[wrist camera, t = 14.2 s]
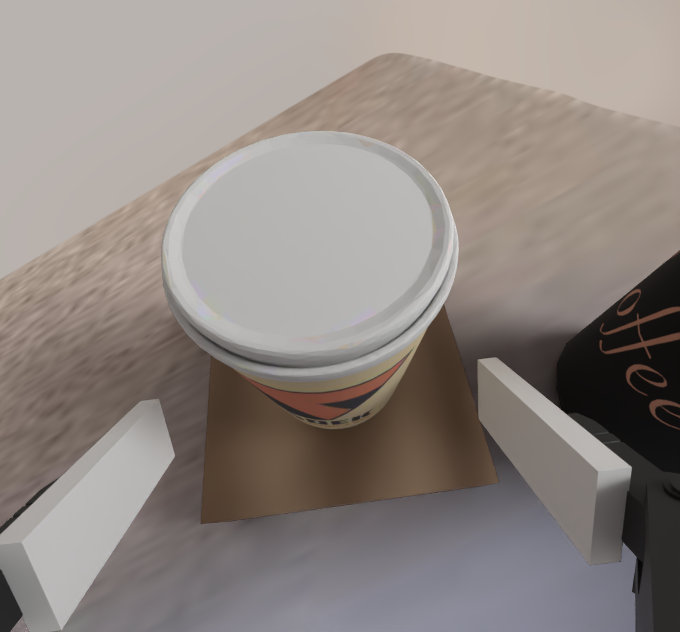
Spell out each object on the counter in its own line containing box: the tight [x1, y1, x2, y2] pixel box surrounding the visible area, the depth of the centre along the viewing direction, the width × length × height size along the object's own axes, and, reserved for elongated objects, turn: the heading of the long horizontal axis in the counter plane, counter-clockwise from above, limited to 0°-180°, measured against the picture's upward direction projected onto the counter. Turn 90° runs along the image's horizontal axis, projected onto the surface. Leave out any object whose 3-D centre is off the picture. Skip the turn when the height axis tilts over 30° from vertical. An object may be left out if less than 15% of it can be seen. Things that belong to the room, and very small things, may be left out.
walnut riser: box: [201, 304, 499, 524], centre depth 23 cm, size 15×15×4 cm
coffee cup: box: [161, 131, 459, 429], centre depth 16 cm, size 9×9×12 cm
